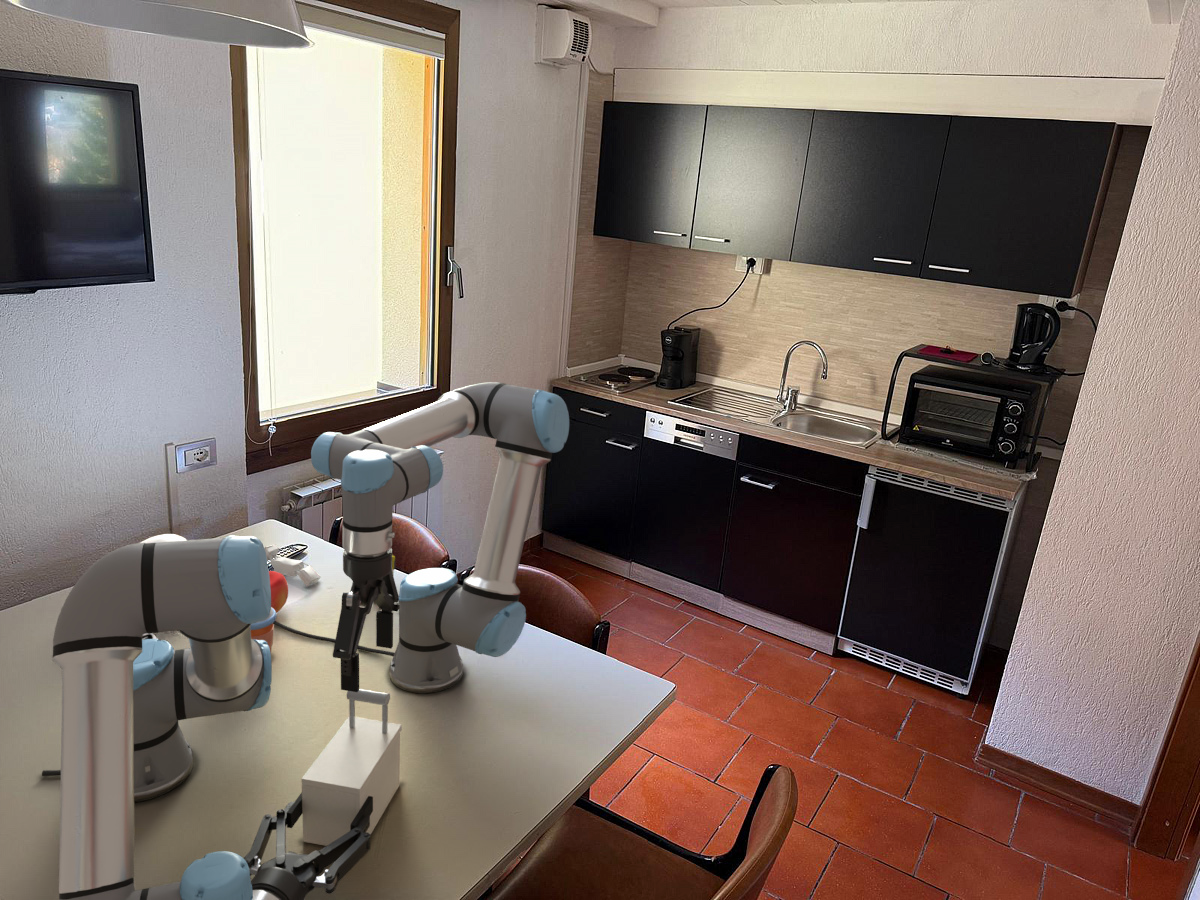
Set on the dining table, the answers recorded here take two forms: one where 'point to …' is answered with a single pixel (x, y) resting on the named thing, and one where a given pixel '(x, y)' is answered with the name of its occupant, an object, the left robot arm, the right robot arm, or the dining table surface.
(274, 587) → the apple
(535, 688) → the dining table surface
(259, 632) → the cup with straw
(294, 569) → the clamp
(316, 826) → the chest
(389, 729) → the lid
